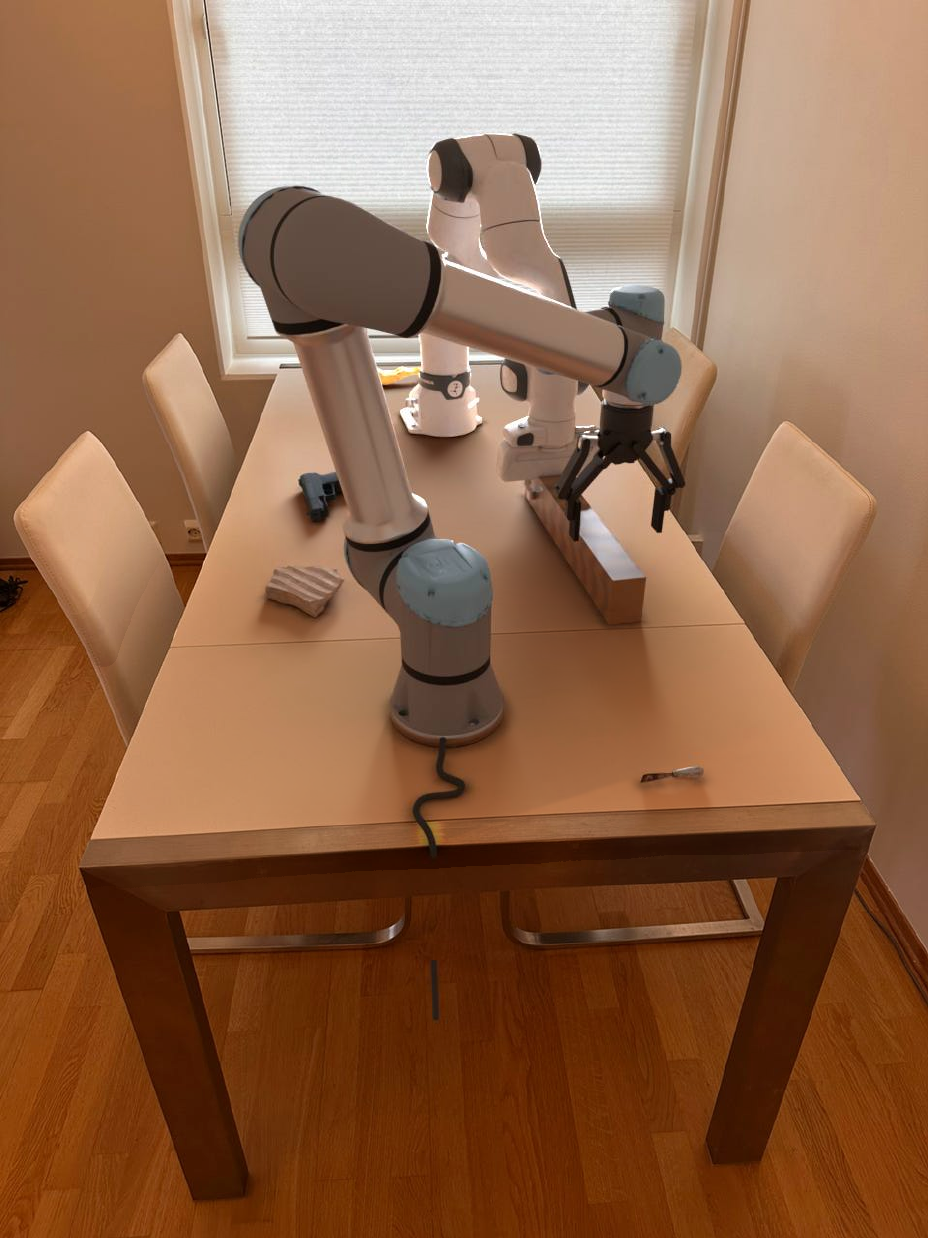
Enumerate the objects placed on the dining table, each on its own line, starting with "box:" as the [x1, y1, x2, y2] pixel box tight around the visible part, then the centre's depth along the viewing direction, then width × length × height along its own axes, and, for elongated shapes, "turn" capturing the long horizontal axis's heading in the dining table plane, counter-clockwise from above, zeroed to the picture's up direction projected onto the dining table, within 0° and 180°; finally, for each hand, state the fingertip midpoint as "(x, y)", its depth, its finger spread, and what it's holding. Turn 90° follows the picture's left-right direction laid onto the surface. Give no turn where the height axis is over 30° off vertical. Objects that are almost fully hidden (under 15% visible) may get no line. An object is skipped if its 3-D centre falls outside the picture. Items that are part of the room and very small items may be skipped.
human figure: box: [377, 366, 421, 386], centre depth 243 cm, size 20×20×4 cm
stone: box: [264, 565, 345, 618], centre depth 147 cm, size 13×12×3 cm
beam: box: [524, 475, 647, 626], centre depth 159 cm, size 50×5×8 cm, turn 12°
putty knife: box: [640, 765, 705, 784], centre depth 109 cm, size 1×8×2 cm, turn 103°
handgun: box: [298, 471, 343, 522], centre depth 178 cm, size 3×18×12 cm
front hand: (615, 533), depth 139 cm, fingers open, 13 cm apart
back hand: (547, 497), depth 174 cm, fingers closed on beam, 5 cm apart
